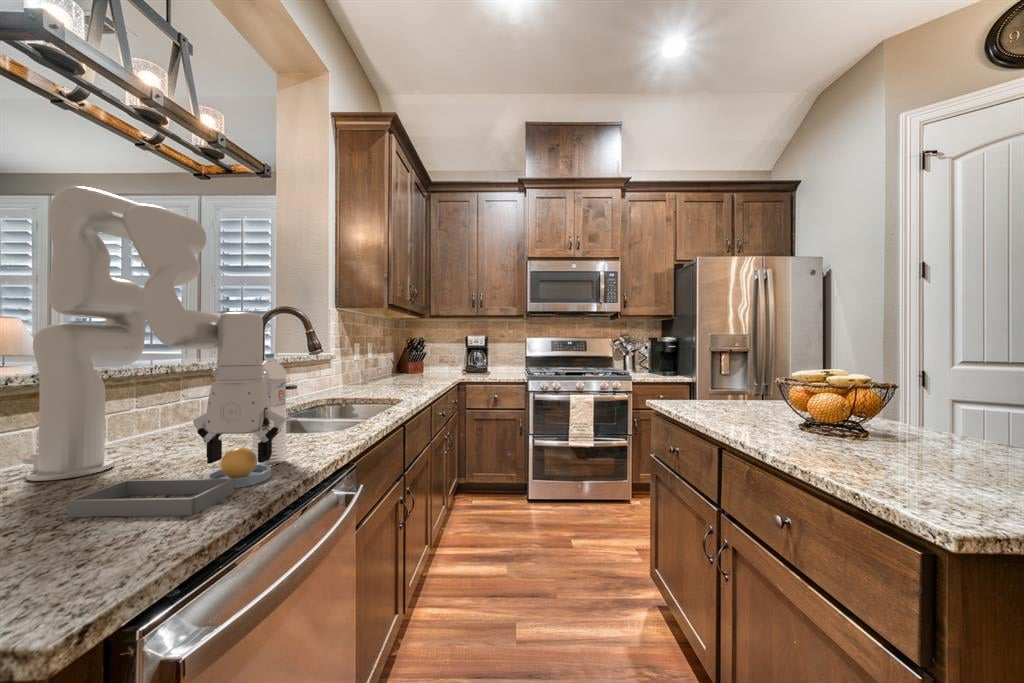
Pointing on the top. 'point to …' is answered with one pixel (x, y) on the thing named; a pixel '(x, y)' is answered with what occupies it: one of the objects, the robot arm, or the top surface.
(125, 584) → the top surface
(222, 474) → the dish
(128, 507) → the shallow grey tray
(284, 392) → the water bottle
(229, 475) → the yellow-orange oval ball
